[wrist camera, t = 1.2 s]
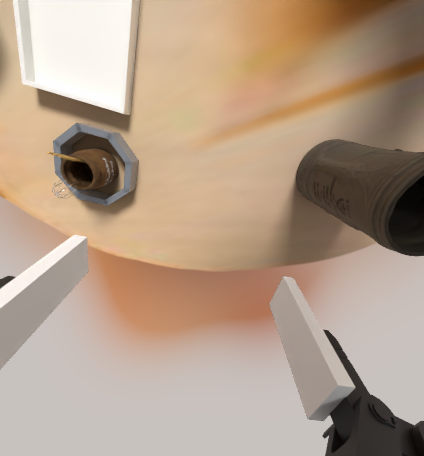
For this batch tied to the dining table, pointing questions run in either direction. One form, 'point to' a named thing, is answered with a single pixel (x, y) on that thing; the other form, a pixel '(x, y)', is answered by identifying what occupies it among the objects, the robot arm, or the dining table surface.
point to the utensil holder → (87, 169)
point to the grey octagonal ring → (81, 129)
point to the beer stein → (369, 191)
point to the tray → (79, 48)
